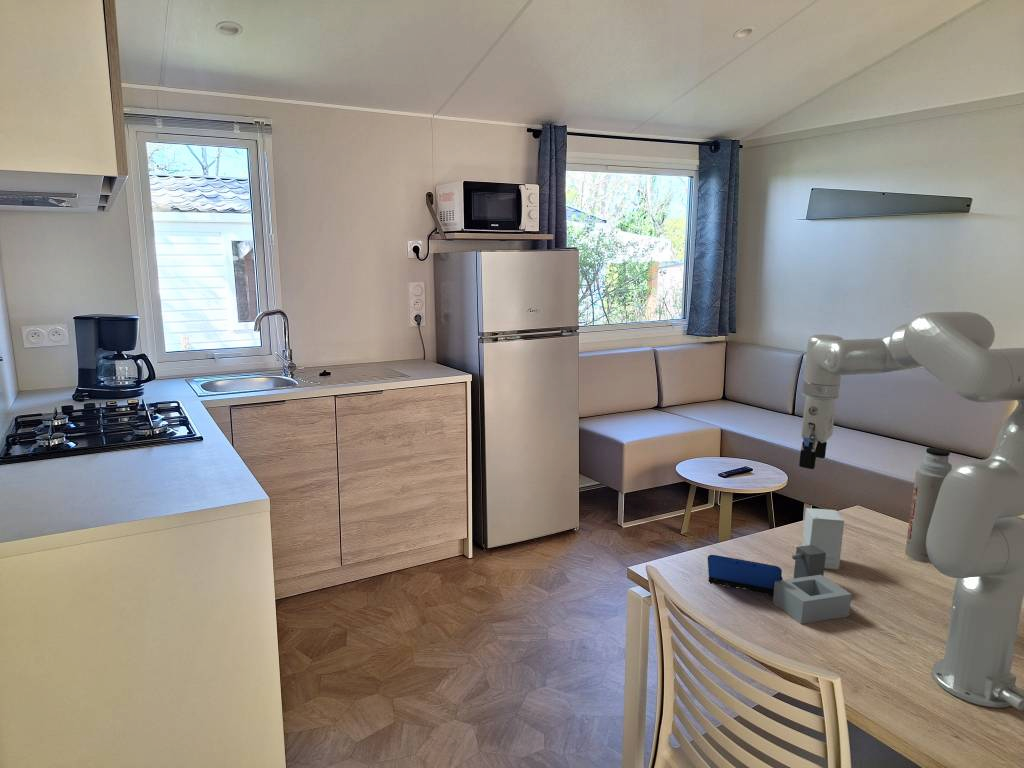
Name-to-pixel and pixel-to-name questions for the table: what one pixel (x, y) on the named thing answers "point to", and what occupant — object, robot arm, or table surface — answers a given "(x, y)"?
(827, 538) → the supplement box
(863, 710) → the table surface
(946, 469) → the thermos bottle
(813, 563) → the plug
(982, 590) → the robot arm
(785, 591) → the socket
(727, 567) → the handheld game console
